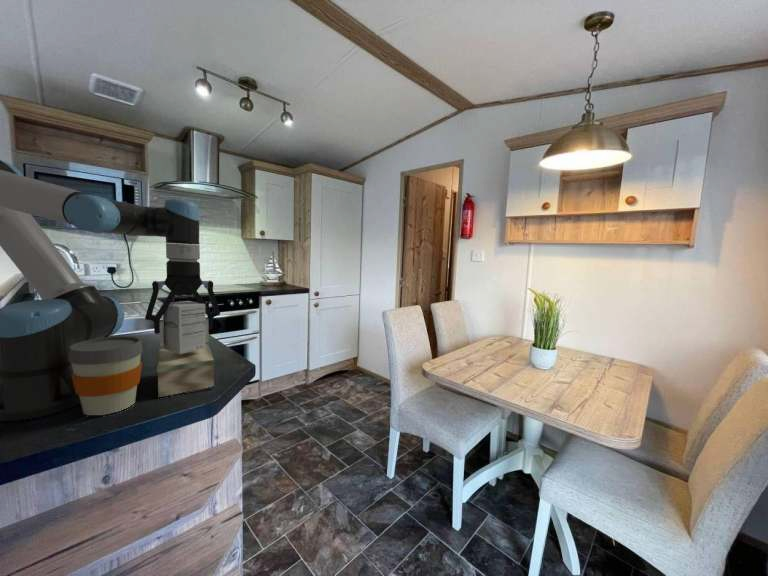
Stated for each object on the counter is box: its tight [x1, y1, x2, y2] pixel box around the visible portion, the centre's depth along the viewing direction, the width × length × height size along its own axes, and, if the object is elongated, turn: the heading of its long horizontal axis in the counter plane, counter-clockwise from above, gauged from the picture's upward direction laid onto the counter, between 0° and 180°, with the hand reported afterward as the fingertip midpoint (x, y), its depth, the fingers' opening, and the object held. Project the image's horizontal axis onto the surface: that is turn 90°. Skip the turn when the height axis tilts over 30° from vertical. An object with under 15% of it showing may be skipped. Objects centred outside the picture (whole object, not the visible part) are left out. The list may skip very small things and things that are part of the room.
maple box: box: [156, 343, 215, 398], centre depth 87 cm, size 12×16×8 cm
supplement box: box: [162, 300, 207, 354], centre depth 86 cm, size 7×7×13 cm
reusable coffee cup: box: [69, 335, 144, 415], centre depth 72 cm, size 13×13×15 cm
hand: (185, 343), depth 87 cm, fingers closed on supplement box, 10 cm apart
